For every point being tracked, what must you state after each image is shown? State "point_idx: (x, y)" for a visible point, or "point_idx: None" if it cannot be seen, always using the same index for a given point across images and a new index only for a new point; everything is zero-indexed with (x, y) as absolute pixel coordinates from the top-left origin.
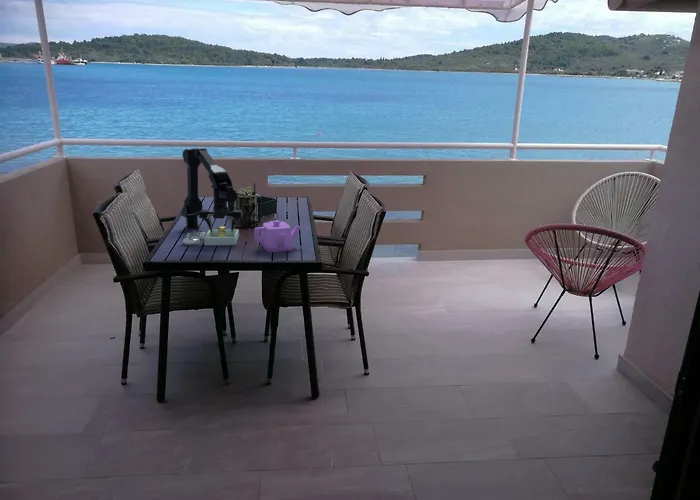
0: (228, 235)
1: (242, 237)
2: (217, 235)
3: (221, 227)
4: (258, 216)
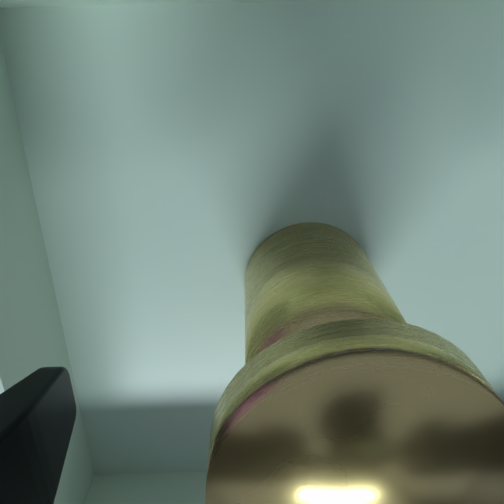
0: None
1: None
2: None
3: (369, 464)
4: None
